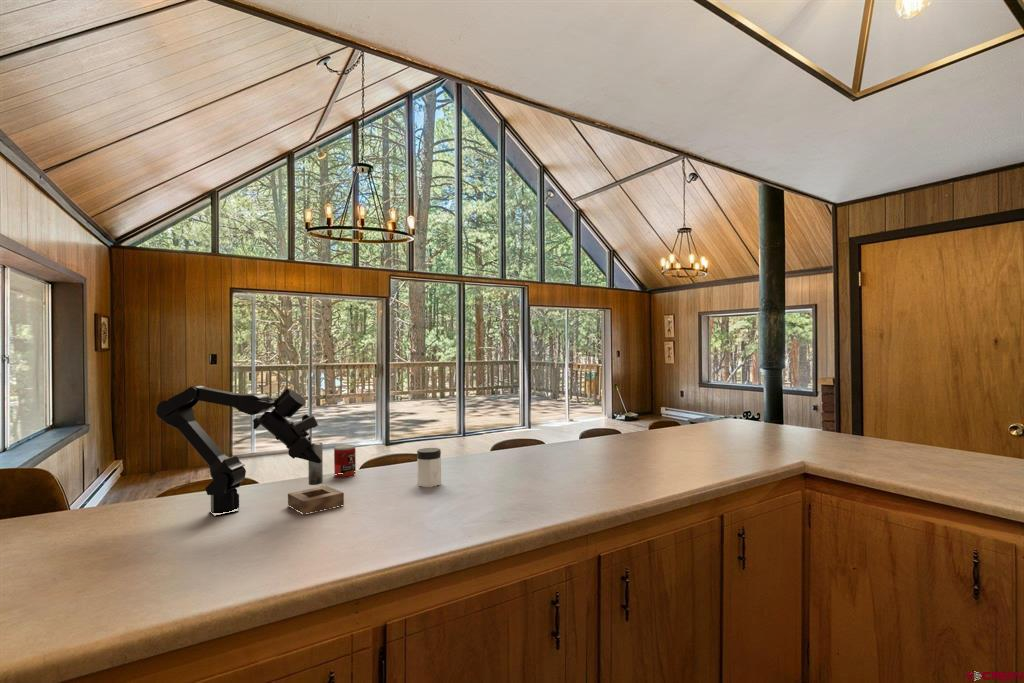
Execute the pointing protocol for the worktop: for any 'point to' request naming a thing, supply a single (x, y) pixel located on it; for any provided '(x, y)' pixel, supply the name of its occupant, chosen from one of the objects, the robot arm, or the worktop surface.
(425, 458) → the jar
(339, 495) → the wooden socket block
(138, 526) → the worktop surface
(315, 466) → the grey upright bar
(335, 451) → the canned food
